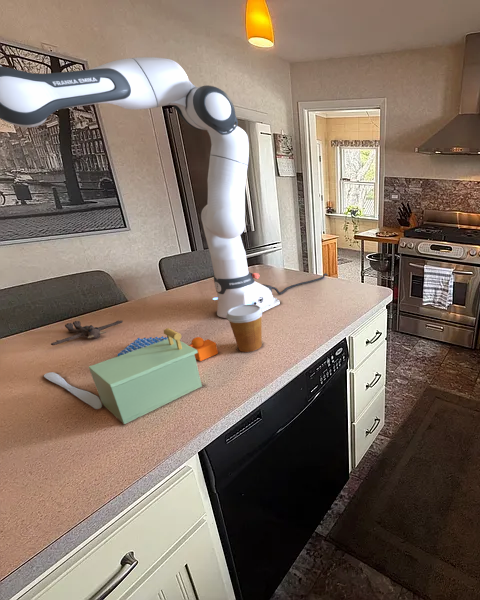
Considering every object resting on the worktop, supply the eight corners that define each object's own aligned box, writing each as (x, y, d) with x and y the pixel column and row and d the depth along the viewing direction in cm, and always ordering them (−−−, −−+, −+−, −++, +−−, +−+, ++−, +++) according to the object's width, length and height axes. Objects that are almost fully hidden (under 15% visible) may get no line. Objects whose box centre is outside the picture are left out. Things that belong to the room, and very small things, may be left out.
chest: (178, 371, 84) (170, 341, 81) (202, 386, 78) (194, 354, 75) (102, 403, 72) (89, 369, 69) (124, 424, 66) (111, 388, 63)
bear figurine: (104, 311, 112) (128, 315, 106) (108, 323, 113) (132, 327, 107) (32, 332, 96) (55, 338, 90) (38, 345, 98) (61, 352, 92)
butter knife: (57, 369, 83) (41, 374, 81) (109, 403, 71) (92, 411, 69) (58, 371, 83) (41, 376, 81) (110, 405, 72) (93, 413, 69)
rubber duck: (210, 349, 95) (206, 330, 93) (218, 353, 93) (214, 334, 91) (188, 358, 90) (184, 339, 88) (196, 362, 88) (191, 343, 86)
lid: (173, 339, 82) (169, 322, 80) (198, 352, 76) (193, 334, 74) (89, 369, 69) (81, 349, 67) (111, 388, 63) (103, 366, 61)
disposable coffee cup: (233, 342, 99) (226, 306, 95) (266, 337, 103) (261, 301, 98) (231, 357, 91) (224, 318, 87) (268, 351, 94) (262, 313, 90)
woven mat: (115, 362, 88) (112, 355, 87) (137, 343, 98) (136, 337, 97) (157, 359, 89) (155, 352, 89) (175, 341, 99) (174, 335, 98)
